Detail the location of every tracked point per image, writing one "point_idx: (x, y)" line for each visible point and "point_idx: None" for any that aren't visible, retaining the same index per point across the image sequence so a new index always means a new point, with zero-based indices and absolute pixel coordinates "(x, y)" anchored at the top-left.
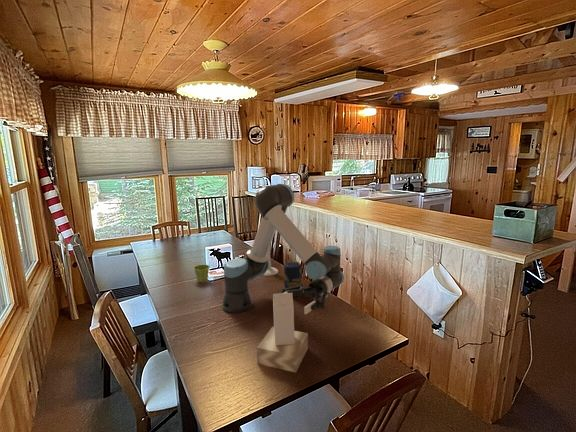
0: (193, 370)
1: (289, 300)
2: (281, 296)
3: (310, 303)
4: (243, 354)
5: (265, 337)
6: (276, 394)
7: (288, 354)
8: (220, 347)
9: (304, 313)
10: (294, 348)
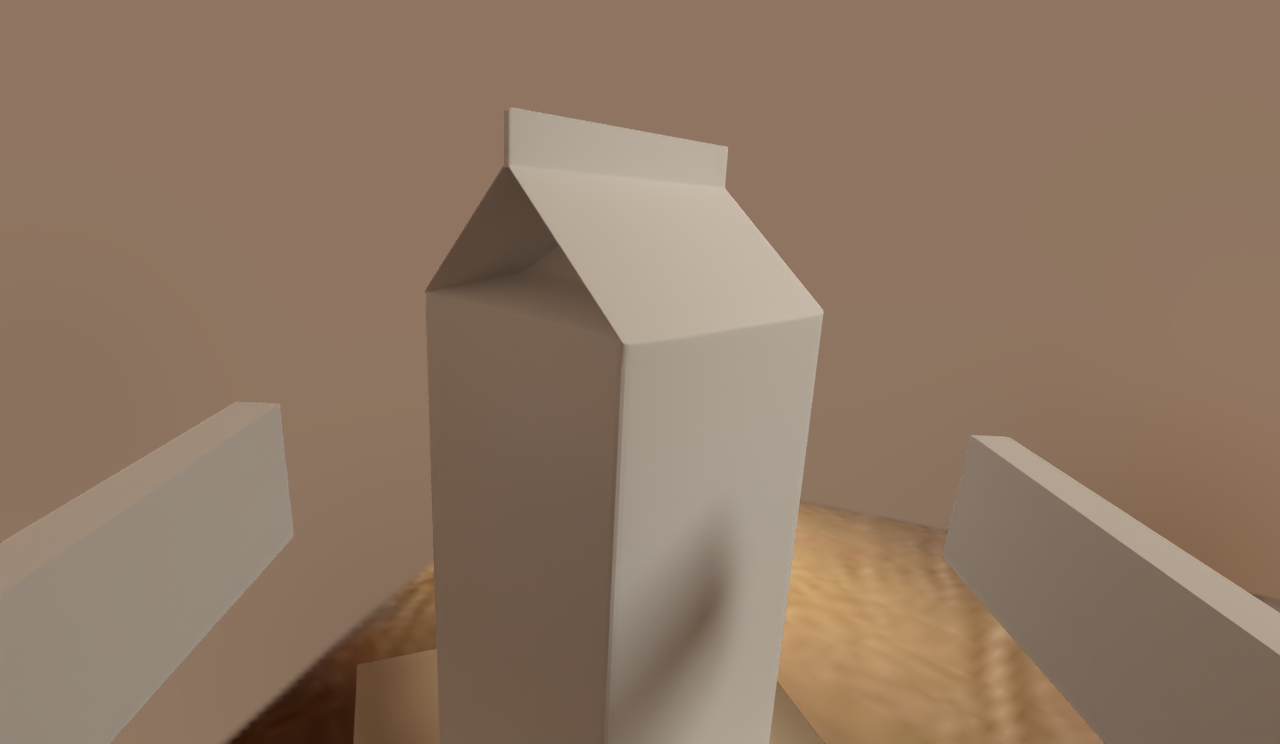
0: (870, 535)
1: (516, 220)
2: (643, 180)
3: (103, 508)
4: (861, 723)
5: (789, 713)
6: (422, 604)
7: (434, 650)
8: (1035, 688)
9: (285, 529)
10: (413, 735)
